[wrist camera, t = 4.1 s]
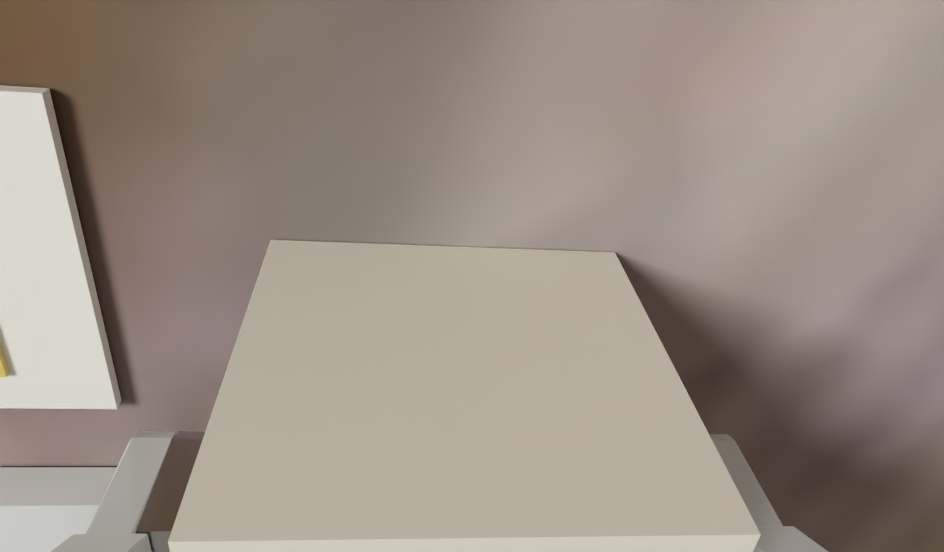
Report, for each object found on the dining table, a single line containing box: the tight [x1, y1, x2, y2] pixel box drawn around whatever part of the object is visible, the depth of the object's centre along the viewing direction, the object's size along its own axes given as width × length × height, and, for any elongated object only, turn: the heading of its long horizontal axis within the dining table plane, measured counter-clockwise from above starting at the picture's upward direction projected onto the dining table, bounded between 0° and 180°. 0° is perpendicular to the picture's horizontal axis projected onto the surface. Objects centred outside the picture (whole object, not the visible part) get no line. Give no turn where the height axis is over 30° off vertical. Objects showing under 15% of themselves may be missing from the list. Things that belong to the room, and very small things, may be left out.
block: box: [168, 240, 761, 552], centre depth 9 cm, size 5×5×5 cm
